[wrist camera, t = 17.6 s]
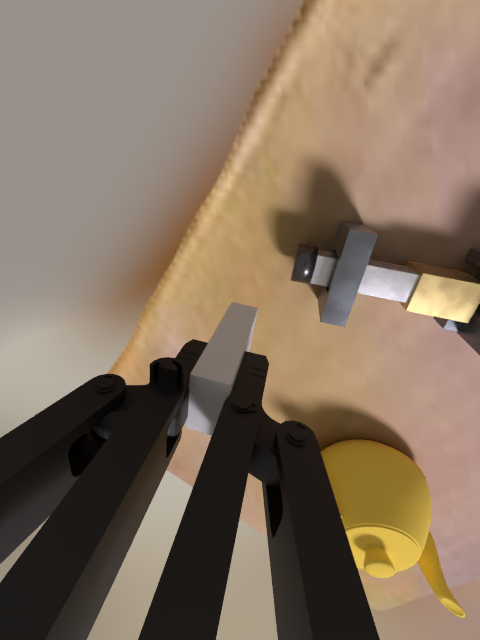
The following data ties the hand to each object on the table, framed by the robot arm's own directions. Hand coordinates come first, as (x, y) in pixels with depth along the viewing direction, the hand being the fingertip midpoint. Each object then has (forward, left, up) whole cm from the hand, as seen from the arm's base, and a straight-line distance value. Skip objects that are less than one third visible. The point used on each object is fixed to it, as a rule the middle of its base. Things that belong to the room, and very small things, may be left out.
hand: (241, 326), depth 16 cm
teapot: (+33, +22, -21) cm, 45 cm away
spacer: (0, +18, -20) cm, 27 cm away
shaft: (0, +9, -19) cm, 21 cm away
